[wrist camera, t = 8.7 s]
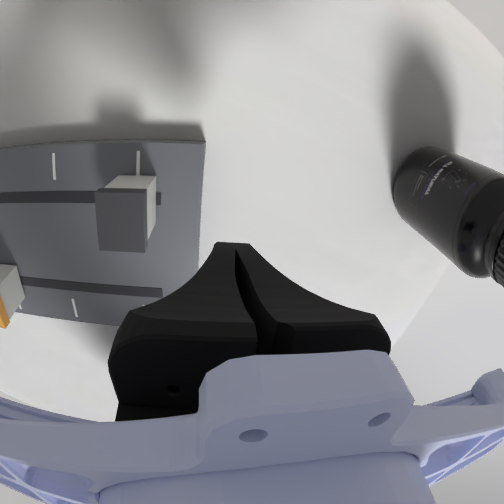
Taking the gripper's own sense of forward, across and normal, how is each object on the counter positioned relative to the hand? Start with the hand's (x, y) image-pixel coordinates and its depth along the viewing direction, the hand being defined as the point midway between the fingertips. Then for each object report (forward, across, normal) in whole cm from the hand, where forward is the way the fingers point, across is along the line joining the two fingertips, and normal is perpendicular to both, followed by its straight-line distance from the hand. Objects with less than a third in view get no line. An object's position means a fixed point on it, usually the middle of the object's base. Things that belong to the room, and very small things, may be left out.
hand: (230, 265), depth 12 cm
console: (+9, +12, +4) cm, 15 cm away
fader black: (+8, +6, 0) cm, 9 cm away
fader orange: (+8, +18, +7) cm, 20 cm away
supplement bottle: (+10, -16, -2) cm, 18 cm away
